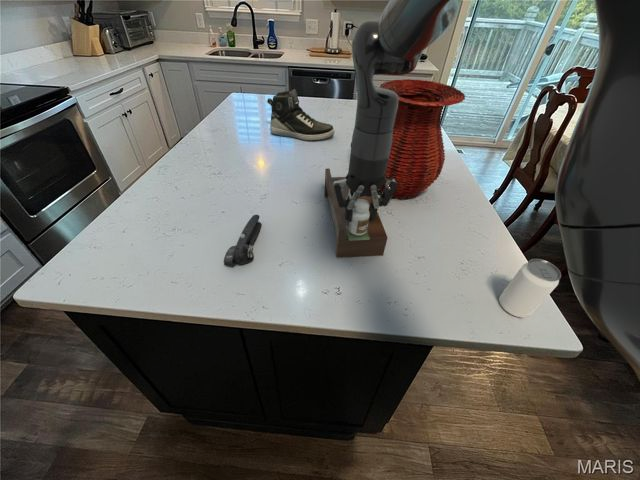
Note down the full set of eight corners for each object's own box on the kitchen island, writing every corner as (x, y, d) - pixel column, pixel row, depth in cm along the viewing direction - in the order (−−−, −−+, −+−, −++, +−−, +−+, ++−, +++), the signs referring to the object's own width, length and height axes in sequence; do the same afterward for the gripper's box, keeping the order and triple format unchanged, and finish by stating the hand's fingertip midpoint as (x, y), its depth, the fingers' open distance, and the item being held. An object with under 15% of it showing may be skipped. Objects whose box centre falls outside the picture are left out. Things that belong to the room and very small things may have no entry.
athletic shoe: (274, 129, 132) (270, 85, 120) (335, 134, 128) (337, 89, 116) (266, 138, 124) (261, 91, 113) (331, 143, 120) (333, 96, 109)
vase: (358, 168, 106) (371, 76, 86) (422, 170, 107) (450, 79, 87) (366, 207, 89) (384, 103, 69) (443, 208, 90) (483, 106, 69)
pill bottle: (359, 238, 68) (364, 211, 63) (344, 230, 70) (347, 203, 65) (370, 229, 70) (375, 203, 65) (355, 221, 72) (359, 195, 67)
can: (522, 294, 67) (552, 257, 58) (536, 319, 62) (571, 283, 54) (493, 293, 67) (519, 256, 58) (505, 318, 62) (536, 281, 54)
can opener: (249, 273, 69) (246, 256, 65) (221, 268, 69) (216, 251, 66) (271, 225, 82) (269, 209, 78) (247, 222, 82) (244, 205, 79)
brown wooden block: (383, 257, 74) (390, 229, 68) (336, 259, 73) (339, 231, 67) (361, 193, 95) (364, 167, 88) (324, 194, 94) (325, 168, 87)
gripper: (336, 159, 53) (331, 231, 65) (412, 158, 54) (394, 228, 66) (331, 141, 58) (327, 210, 70) (400, 140, 60) (385, 208, 71)
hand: (359, 219), depth 68 cm, fingers closed on pill bottle, 4 cm apart
